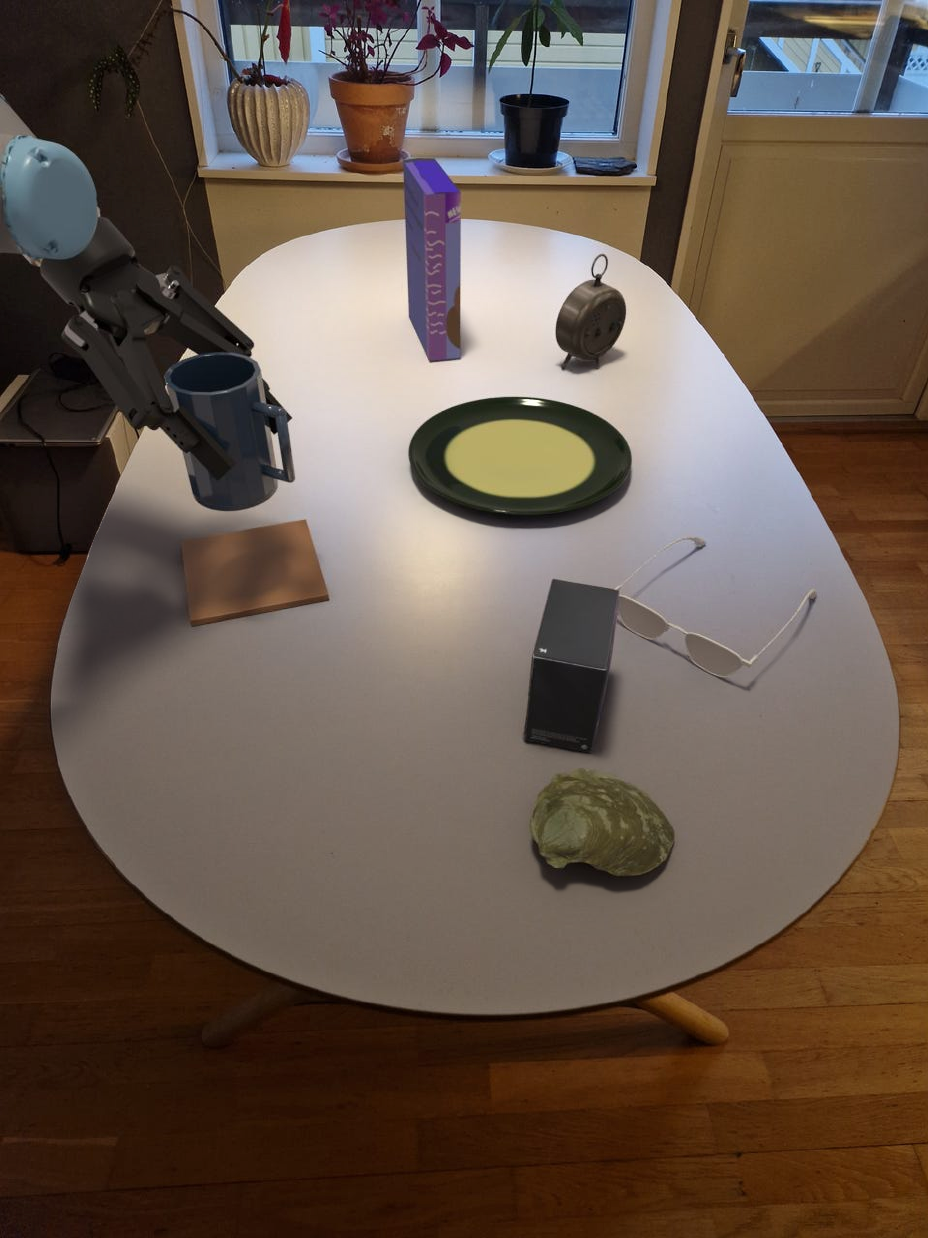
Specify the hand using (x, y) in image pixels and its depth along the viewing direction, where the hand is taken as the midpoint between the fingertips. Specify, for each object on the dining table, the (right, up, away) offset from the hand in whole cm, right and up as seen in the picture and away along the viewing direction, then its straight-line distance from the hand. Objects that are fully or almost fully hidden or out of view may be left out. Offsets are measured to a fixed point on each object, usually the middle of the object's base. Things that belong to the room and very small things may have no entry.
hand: (256, 448), depth 80 cm
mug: (-2, -3, +4) cm, 5 cm away
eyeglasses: (+45, -15, +10) cm, 49 cm away
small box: (+29, -24, -1) cm, 37 cm away
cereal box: (+14, +29, +58) cm, 67 cm away
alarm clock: (+38, +23, +52) cm, 68 cm away
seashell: (+30, -33, -11) cm, 46 cm away
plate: (+26, +4, +30) cm, 40 cm away
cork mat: (-4, -11, +14) cm, 18 cm away
